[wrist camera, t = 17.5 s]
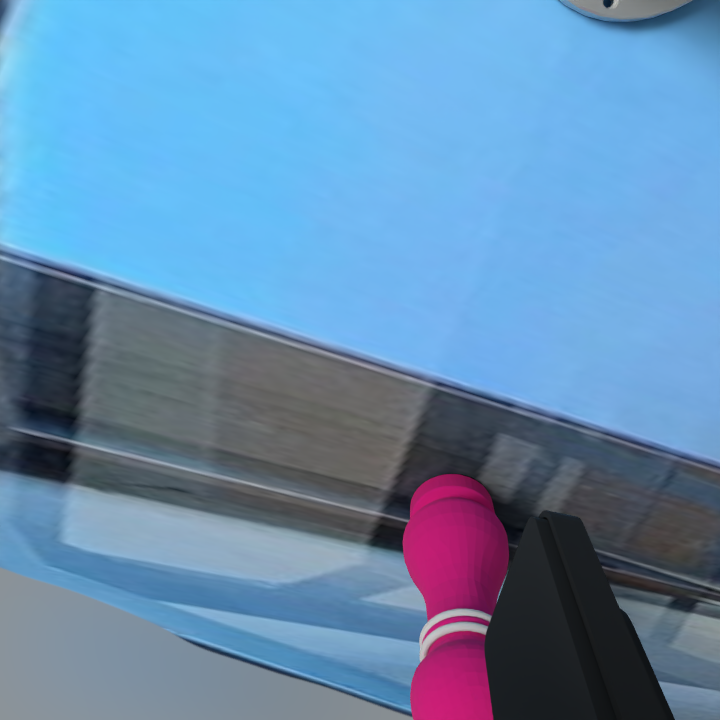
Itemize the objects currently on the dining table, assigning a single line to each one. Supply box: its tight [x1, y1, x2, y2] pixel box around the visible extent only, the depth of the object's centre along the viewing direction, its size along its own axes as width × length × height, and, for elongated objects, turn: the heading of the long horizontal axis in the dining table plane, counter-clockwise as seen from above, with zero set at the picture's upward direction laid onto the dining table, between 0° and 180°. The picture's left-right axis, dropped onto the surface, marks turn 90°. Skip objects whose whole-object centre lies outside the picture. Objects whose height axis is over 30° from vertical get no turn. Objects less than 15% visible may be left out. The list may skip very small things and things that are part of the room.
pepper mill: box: [403, 474, 509, 720], centre depth 34 cm, size 7×7×20 cm
